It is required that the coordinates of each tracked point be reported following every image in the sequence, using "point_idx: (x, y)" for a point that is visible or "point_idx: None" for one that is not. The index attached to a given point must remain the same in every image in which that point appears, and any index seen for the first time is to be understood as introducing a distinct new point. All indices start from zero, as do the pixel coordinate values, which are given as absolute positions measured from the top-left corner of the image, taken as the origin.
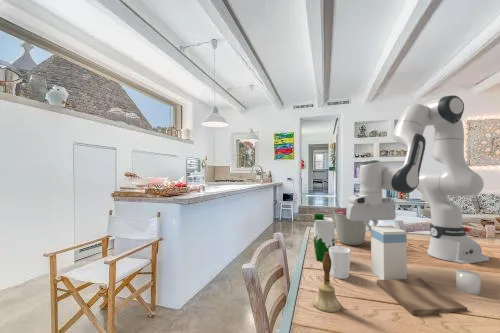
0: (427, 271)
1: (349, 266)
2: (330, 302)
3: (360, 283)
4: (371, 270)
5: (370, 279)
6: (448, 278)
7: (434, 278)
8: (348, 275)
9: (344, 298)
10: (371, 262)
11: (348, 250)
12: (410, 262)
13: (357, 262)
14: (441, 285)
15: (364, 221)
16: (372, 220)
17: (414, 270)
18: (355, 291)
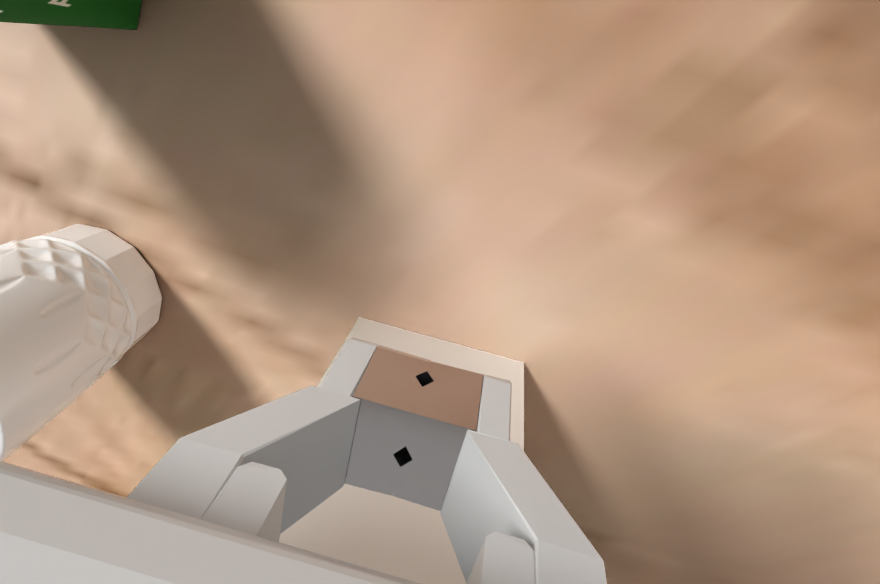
0: (766, 461)
1: (98, 378)
2: None
3: (186, 408)
4: (357, 320)
5: (273, 397)
6: (765, 556)
7: (679, 526)
8: (134, 344)
9: (48, 472)
10: (335, 357)
11: (9, 411)
12: (863, 306)
13: (363, 130)
14: (614, 574)
15: (166, 481)
16: (480, 582)
17: (692, 418)
18: (121, 452)
